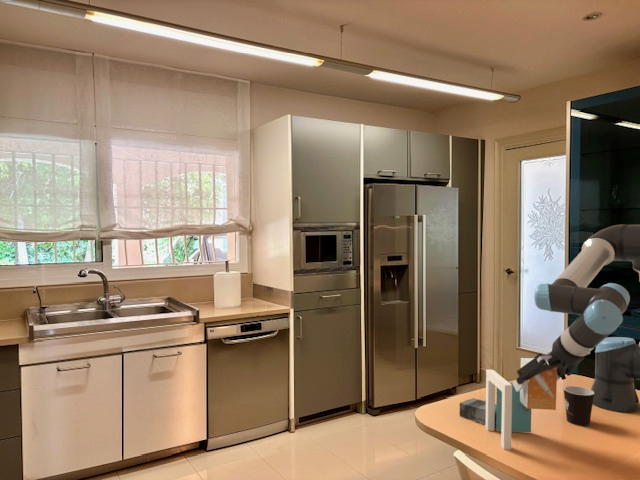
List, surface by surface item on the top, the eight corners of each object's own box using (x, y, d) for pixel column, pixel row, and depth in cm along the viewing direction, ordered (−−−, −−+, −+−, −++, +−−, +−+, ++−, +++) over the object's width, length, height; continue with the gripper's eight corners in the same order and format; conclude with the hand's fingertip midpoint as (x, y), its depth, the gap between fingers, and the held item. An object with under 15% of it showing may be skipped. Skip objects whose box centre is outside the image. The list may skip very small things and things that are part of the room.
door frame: (491, 427, 148) (492, 369, 148) (511, 449, 134) (512, 385, 133) (485, 427, 148) (486, 369, 148) (503, 449, 134) (504, 385, 133)
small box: (527, 409, 136) (528, 363, 135) (519, 401, 142) (520, 357, 142) (556, 410, 135) (557, 364, 135) (547, 402, 141) (548, 358, 141)
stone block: (474, 410, 163) (474, 395, 163) (515, 424, 152) (515, 407, 152) (459, 416, 157) (459, 401, 157) (499, 431, 146) (500, 414, 146)
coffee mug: (592, 429, 147) (593, 397, 147) (561, 423, 152) (562, 391, 152) (594, 417, 157) (595, 386, 157) (565, 411, 162) (565, 381, 161)
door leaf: (496, 429, 146) (496, 381, 145) (529, 430, 145) (530, 382, 145) (498, 432, 143) (499, 384, 143) (532, 434, 143) (533, 385, 142)
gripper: (544, 360, 120) (503, 401, 136) (615, 355, 126) (568, 395, 142) (530, 334, 125) (492, 377, 141) (599, 330, 131) (555, 371, 147)
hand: (530, 386), depth 141 cm, fingers closed on small box, 9 cm apart
